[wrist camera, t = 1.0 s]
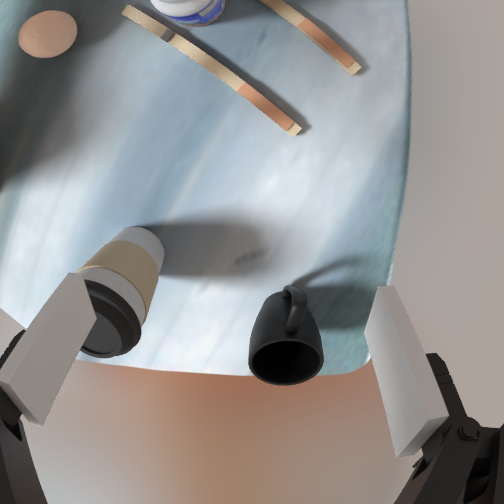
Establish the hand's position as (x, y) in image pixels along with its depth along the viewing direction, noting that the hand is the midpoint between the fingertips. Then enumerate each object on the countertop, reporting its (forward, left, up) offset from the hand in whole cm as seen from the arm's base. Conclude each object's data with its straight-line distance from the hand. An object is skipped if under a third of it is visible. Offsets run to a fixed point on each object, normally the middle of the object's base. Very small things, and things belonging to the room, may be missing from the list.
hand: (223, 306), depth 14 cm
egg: (-26, 0, -22) cm, 34 cm away
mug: (+14, -10, -22) cm, 28 cm away
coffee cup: (-4, -17, -22) cm, 28 cm away
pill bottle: (-15, +10, -22) cm, 28 cm away
